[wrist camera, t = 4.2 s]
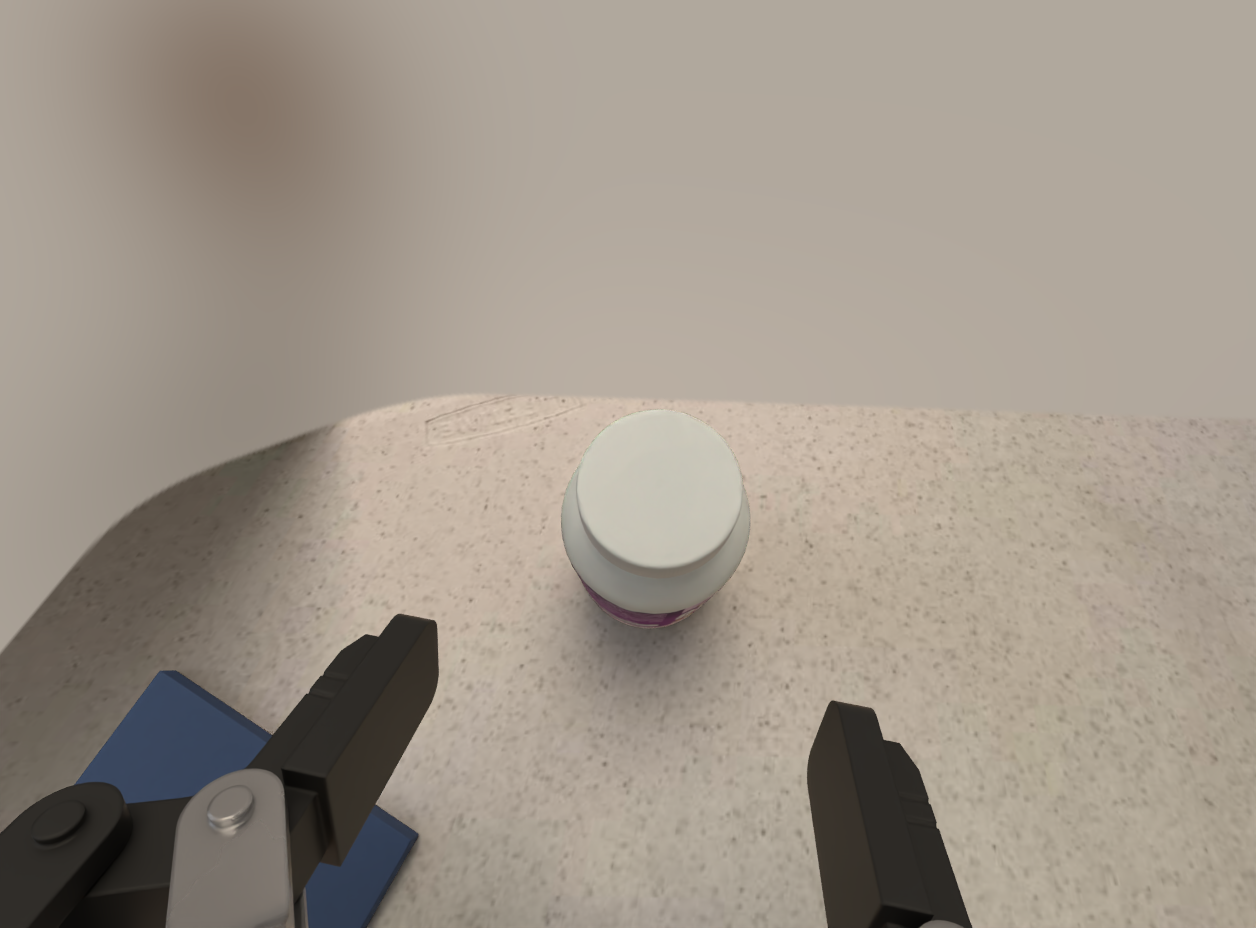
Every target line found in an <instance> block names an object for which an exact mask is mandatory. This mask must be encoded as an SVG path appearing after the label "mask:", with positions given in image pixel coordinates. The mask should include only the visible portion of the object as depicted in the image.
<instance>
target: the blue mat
mask: <svg viewBox="0 0 1256 928" xmlns="http://www.w3.org/2000/svg"><path fill="white" fill-rule="evenodd" d="M271 737H272V735H271V734H269V733H268V732H266V731H265V730H263V729H262V728H260V727H259V726H257V725H256V724H254V723H253V722H252V721H250V720H249V719H247V718H246V717H244V716H243V715H241V714H240V713H238V712H237V711H235V710H234V709H232V708H231V707H229V706H228V705H226V704H225V703H223V702H222V701H220V700H219V699H217V698H216V697H214V696H213V695H211V694H210V693H208V692H207V691H205V690H204V689H202V688H201V687H200V686H198V685H197V684H195V683H194V682H192V681H191V680H189V679H188V678H186V677H185V676H183V675H182V674H180V673H179V672H177V671H160V672H159V673H158V674H157V675H156V677H155V678H154V679H153V681H152V682H151V683H150V685H149V686H148V687H147V689H146V690H145V691H144V693H143V694H142V695H141V697H140V698H139V699H138V701H137V702H136V703H135V705H134V706H133V707H132V709H131V710H130V711H129V713H128V714H127V715H126V717H125V718H124V719H123V721H122V722H121V723H120V725H119V726H118V727H117V729H116V730H115V731H114V733H113V734H112V735H111V737H110V738H109V739H108V741H107V742H106V743H105V745H104V746H103V747H102V749H101V750H100V751H99V753H98V754H97V755H96V757H95V758H94V759H93V761H92V762H91V763H90V765H89V766H88V767H87V769H86V770H85V771H84V773H83V774H82V775H81V777H80V778H79V779H78V781H77V782H76V783H75V785H76V784H81V783H86V782H105V783H109V784H112V785H113V786H115V787H117V788H118V789H119V790H120V791H121V793H122V796H123V798H124V800H125V803H126V804H128V803H138V802H147V801H157V800H166V799H176V798H184V797H190V796H194V795H196V794H197V793H198V792H199V791H200V790H201V789H202V788H204V787H205V786H206V785H208V784H209V783H211V782H212V781H214V780H216V779H218V778H220V777H222V776H224V775H226V774H229V773H231V772H234V771H238V770H243V769H244V768H246V767H247V766H248V765H249V763H250V762H251V761H252V760H253V759H254V758H255V757H256V755H257V754H258V753H259V752H260V750H261V749H262V748H263V747H264V745H265V744H266V743H267V742H268V741H269V739H270V738H271ZM417 837H418V833H416V832H415V831H413V830H412V829H411V828H409V827H408V826H406V825H405V824H403V823H402V822H400V821H399V820H397V819H396V818H394V817H393V816H391V815H390V814H388V813H387V812H385V811H384V810H382V809H381V808H379V807H378V806H376V805H374V807H373V809H372V811H371V813H370V814H369V816H368V818H367V820H366V822H365V823H364V825H363V827H362V829H361V831H360V832H359V834H358V836H357V838H356V840H355V842H354V843H353V845H352V847H351V849H350V851H349V852H348V854H347V856H346V858H345V860H344V861H343V863H342V865H341V867H338V866H334V865H329V864H325V863H321V862H319V864H318V866H317V867H316V869H315V871H314V873H313V874H312V876H311V878H310V879H309V881H308V883H307V884H306V886H305V889H306V901H307V915H308V928H366V927H367V925H368V923H369V921H370V920H371V918H372V916H373V914H374V913H375V911H376V909H377V907H378V906H379V904H380V902H381V900H382V899H383V897H384V895H385V893H386V892H387V890H388V888H389V886H390V885H391V883H392V881H393V879H394V878H395V876H396V874H397V872H398V871H399V869H400V867H401V865H402V864H403V862H404V860H405V858H406V857H407V855H408V853H409V851H410V850H411V848H412V846H413V844H414V843H415V841H416V839H417Z"/></svg>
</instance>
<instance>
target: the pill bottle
mask: <svg viewBox="0 0 1256 928" xmlns="http://www.w3.org/2000/svg"><path fill="white" fill-rule="evenodd" d="M561 528H562V537H563V541H564V546H565V549H566V552H567V555H568V557H569V559H570V561H571V564H572V566H573V568H574V569H575V571H576V572H577V574H578V576H579V577H580V579H581V581H582V583H583V585H584V587H585V588H586V590H587V591H588V593H589V595H590V596H591V597H592V599H593V600H594V601H595V602H596V604H597V605H598V606H599V607H600V608H601V609H602V610H603V611H604V612H606V613H607V614H608V615H610V616H611V617H612V618H614V619H616V620H618V621H620V622H622V623H624V624H627V625H630V626H634V627H639V628H660V627H665V626H669V625H672V624H675V623H677V622H679V621H681V620H683V619H685V618H686V617H688V616H690V615H691V614H692V613H694V612H695V611H696V610H698V609H699V608H700V607H701V606H702V605H703V604H704V603H705V602H707V601H708V600H709V599H710V598H711V597H712V596H713V595H714V594H715V593H716V592H717V591H719V590H720V589H721V588H722V587H723V586H724V585H725V583H726V582H727V581H728V580H729V579H730V578H731V576H732V575H733V573H734V572H735V570H736V568H737V567H738V565H739V563H740V561H741V559H742V557H743V555H744V553H745V550H746V547H747V543H748V539H749V532H750V508H749V502H748V498H747V494H746V491H745V488H744V485H743V481H742V474H741V471H740V467H739V464H738V461H737V459H736V457H735V455H734V453H733V451H732V450H731V448H730V446H729V445H728V444H727V442H726V441H725V440H724V439H723V438H722V436H721V435H720V434H719V433H718V432H716V431H715V430H714V429H713V428H712V427H710V426H709V425H707V424H706V423H704V422H703V421H701V420H699V419H697V418H695V417H693V416H691V415H688V414H686V413H682V412H678V411H673V410H664V409H655V410H646V411H639V412H636V413H632V414H629V415H627V416H624V417H622V418H620V419H618V420H616V421H615V422H613V423H612V424H610V425H608V426H607V427H606V428H605V429H604V430H603V431H601V432H600V433H599V434H598V435H597V436H596V438H595V439H594V440H593V441H592V443H591V444H590V446H589V447H588V448H587V450H586V452H585V453H584V455H583V458H582V460H581V463H580V464H579V466H578V467H577V469H576V470H575V472H574V473H573V475H572V477H571V479H570V481H569V484H568V486H567V489H566V492H565V496H564V500H563V505H562V513H561Z"/></svg>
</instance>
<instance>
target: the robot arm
mask: <svg viewBox="0 0 1256 928" xmlns="http://www.w3.org/2000/svg"><path fill="white" fill-rule="evenodd" d="M438 676H439V667H438V636H437V624H436V622H435V621H434V620H430V619H425V618H419V617H414V616H409V615H404V614H397V615H396V616H395V617H394V618H393V619H392V620H391V621H390V623H389V624H388V625H387V627H386V628H385V629H384V631H383V632H382V633H381V635H380V636H379V637H377V636H372V635H367V634H365V635H364V636H362V637H361V638H359V639H358V640H356V641H355V642H353V643H352V644H350V645H349V646H347V647H346V648H344V649H343V650H341V651H340V653H339V654H338V655H337V656H336V658H335V659H334V660H333V661H332V663H331V664H330V665H329V666H328V668H327V669H326V670H325V671H324V675H323V676H320V677H319V679H318V680H317V681H316V682H315V684H314V685H313V686H312V687H311V689H310V692H309V694H306V695H305V696H304V697H303V698H302V700H301V701H300V702H299V703H298V705H297V706H296V707H295V708H294V710H293V711H292V712H291V713H290V715H289V716H288V717H287V718H286V720H285V721H284V722H283V723H282V724H281V726H280V727H279V728H278V729H277V731H276V732H275V733H274V734H273V736H272V737H271V738H270V739H269V741H268V742H267V743H266V744H265V745H264V747H263V748H262V749H261V750H260V752H259V753H258V754H257V755H256V757H255V758H254V759H253V760H252V761H251V762H250V763H249V765H248V766H247V767H246V768H244V769H243V770H238V771H234V772H231V773H229V774H226V775H224V776H222V777H220V778H218V779H216V780H214V781H212V782H211V783H209V784H208V785H206V786H205V787H204V788H202V789H201V790H200V791H199V792H198V793H197V794H196V795H194V796H190V797H184V798H176V799H166V800H157V801H147V802H138V803H128V804H126V803H125V800H124V798H123V796H122V793H121V791H120V790H119V789H118V788H117V787H115V786H113V785H112V784H109V783H105V782H86V783H81V784H76V785H73V786H70V787H66V788H64V789H61V790H59V791H57V792H54V793H52V794H50V795H48V796H47V797H45V798H43V799H41V800H40V801H38V802H36V803H35V804H33V805H32V806H31V807H29V808H28V809H27V810H25V811H24V812H23V813H22V814H21V815H19V816H18V817H17V818H16V819H15V820H14V821H13V822H12V823H11V824H10V825H9V826H8V827H7V828H6V829H5V830H4V831H2V832H1V833H0V928H308V915H307V901H306V889H305V886H306V884H307V883H308V881H309V879H310V878H311V876H312V874H313V873H314V871H315V869H316V867H317V866H318V864H319V862H321V863H325V864H329V865H334V866H338V867H341V865H342V863H343V861H344V860H345V858H346V856H347V854H348V852H349V851H350V849H351V847H352V845H353V843H354V842H355V840H356V838H357V836H358V834H359V832H360V831H361V829H362V827H363V825H364V823H365V822H366V820H367V818H368V816H369V814H370V813H371V811H372V809H373V807H374V805H375V804H376V802H377V800H378V798H379V796H380V795H381V793H382V791H383V789H384V787H385V786H386V784H387V782H388V780H389V778H390V777H391V775H392V773H393V771H394V769H395V768H396V766H397V764H398V762H399V760H400V759H401V757H402V755H403V753H404V751H405V750H406V748H407V746H408V744H409V742H410V741H411V739H412V737H413V735H414V733H415V732H416V730H417V728H418V726H419V724H420V723H421V721H422V719H423V717H424V715H425V714H426V712H427V710H428V708H429V706H430V704H431V702H432V700H433V697H434V694H435V691H436V688H437V683H438ZM807 784H808V792H809V799H810V806H811V813H812V820H813V827H814V834H815V841H816V848H817V855H818V862H819V869H820V876H821V883H822V890H823V897H824V904H825V911H826V918H827V925H828V928H972V925H971V923H970V920H969V917H968V914H967V911H966V908H965V905H964V902H963V899H962V896H961V893H960V891H959V888H958V885H957V882H956V879H955V876H954V873H953V870H952V867H951V864H950V861H949V858H948V855H947V852H946V849H945V846H944V843H943V840H942V837H941V834H940V831H939V829H937V827H936V823H937V822H936V819H935V816H934V813H933V810H932V807H931V804H929V803H928V799H929V798H928V795H927V792H926V789H925V786H924V783H923V780H922V777H921V774H920V771H919V769H918V768H917V767H916V765H915V764H914V762H913V761H912V760H911V758H910V757H909V756H908V754H907V753H906V751H905V750H904V749H903V747H902V746H901V744H900V743H896V742H891V741H886V740H883V736H882V733H881V730H880V726H879V723H878V719H877V716H876V714H875V712H874V710H873V709H872V708H868V707H863V706H858V705H853V704H848V703H843V702H838V701H831V702H830V703H829V705H828V707H827V709H826V712H825V714H824V717H823V720H822V722H821V725H820V727H819V730H818V733H817V735H816V738H815V740H814V743H813V746H812V748H811V751H810V755H809V760H808V768H807Z"/></svg>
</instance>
